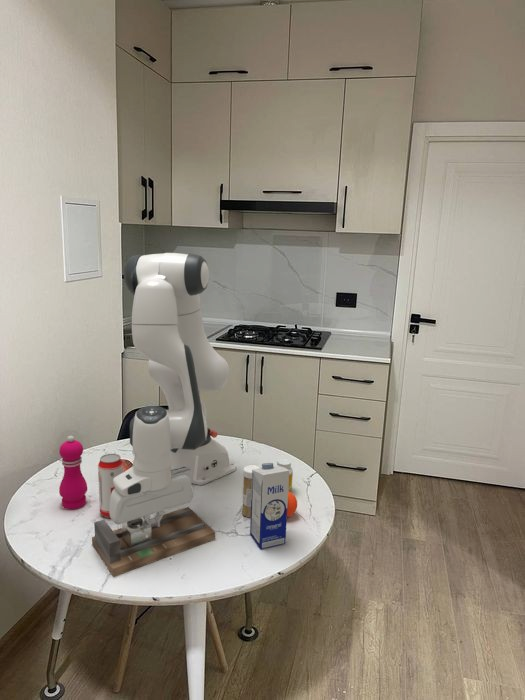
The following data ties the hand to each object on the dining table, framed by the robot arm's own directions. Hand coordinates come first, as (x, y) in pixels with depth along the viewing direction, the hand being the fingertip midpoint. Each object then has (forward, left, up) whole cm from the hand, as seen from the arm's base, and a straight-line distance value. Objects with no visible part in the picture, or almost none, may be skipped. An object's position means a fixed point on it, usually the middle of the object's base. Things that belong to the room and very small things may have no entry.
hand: (153, 527), depth 128 cm
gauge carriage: (+4, +1, -2) cm, 5 cm away
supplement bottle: (-42, -3, -4) cm, 43 cm away
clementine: (-34, +8, -4) cm, 36 cm away
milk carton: (-24, +14, -4) cm, 28 cm away
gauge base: (0, 0, -4) cm, 4 cm away
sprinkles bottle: (-27, +2, -4) cm, 28 cm away
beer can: (+4, -18, -4) cm, 19 cm away
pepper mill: (+11, -28, -4) cm, 30 cm away
